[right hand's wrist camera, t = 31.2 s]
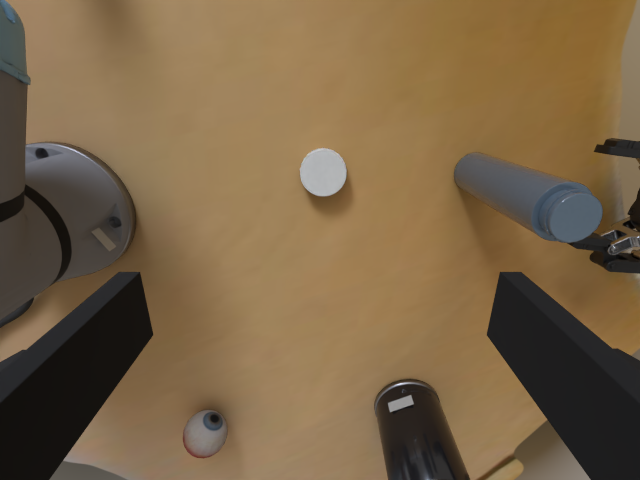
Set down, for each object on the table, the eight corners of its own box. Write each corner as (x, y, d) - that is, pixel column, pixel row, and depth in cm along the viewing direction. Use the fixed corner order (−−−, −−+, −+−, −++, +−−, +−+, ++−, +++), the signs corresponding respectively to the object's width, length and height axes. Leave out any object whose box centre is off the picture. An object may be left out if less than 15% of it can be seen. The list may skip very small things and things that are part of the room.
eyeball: (239, 408, 52) (229, 445, 46) (222, 435, 54) (210, 473, 48) (201, 393, 50) (186, 429, 45) (185, 421, 52) (169, 458, 47)
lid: (313, 201, 40) (313, 205, 39) (292, 161, 38) (290, 163, 37) (353, 180, 39) (355, 183, 38) (333, 139, 38) (333, 140, 36)
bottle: (446, 183, 39) (530, 236, 24) (466, 146, 38) (568, 176, 22) (480, 196, 40) (583, 257, 24) (500, 160, 38) (624, 200, 23)
